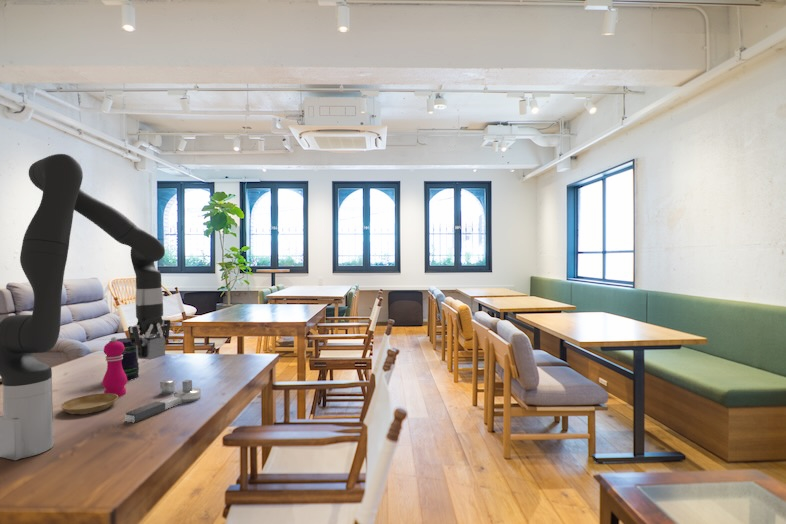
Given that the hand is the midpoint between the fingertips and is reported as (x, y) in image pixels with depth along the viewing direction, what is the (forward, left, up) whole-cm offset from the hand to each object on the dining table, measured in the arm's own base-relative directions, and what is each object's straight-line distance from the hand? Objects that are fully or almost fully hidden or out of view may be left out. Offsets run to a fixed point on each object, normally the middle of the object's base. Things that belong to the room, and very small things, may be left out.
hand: (151, 355), depth 136 cm
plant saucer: (-8, +17, -16) cm, 25 cm away
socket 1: (0, 0, -1) cm, 1 cm away
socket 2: (+11, +6, -16) cm, 20 cm away
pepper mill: (+4, +22, -16) cm, 27 cm away
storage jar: (+20, +38, -16) cm, 46 cm away
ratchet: (0, -6, -16) cm, 17 cm away
